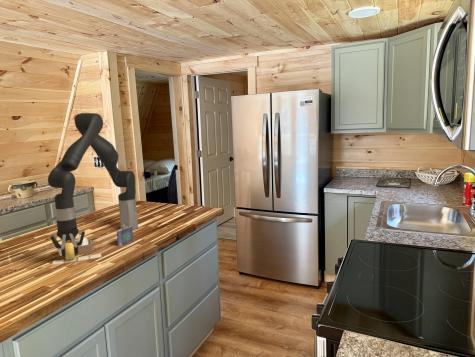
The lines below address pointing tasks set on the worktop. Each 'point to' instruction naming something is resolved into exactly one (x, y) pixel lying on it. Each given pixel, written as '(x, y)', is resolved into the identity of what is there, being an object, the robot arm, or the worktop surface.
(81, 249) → the board
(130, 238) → the navy rounded piece
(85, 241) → the white rounded egg-shaped piece
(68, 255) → the yellow rounded oblong piece
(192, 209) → the worktop surface
